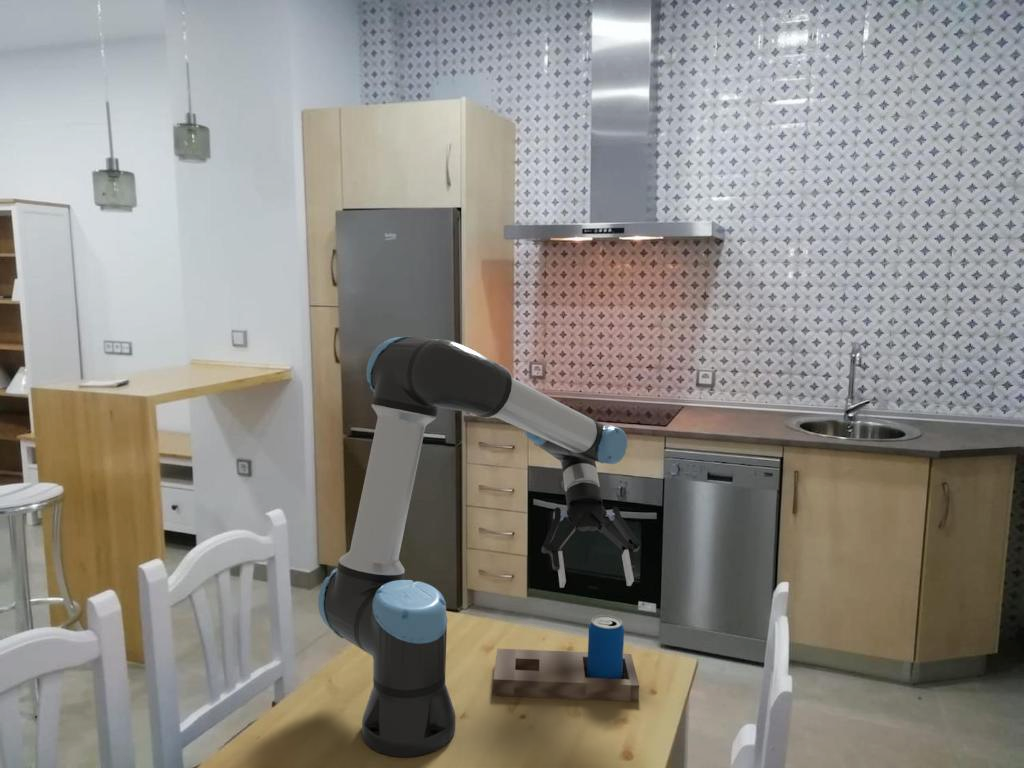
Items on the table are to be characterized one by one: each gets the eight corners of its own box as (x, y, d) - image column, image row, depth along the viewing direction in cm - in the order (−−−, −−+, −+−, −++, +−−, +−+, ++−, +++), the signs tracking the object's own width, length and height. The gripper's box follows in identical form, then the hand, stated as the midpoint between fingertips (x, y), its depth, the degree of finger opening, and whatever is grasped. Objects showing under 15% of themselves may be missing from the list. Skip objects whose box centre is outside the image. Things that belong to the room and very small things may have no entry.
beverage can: (620, 694, 135) (623, 630, 133) (585, 689, 136) (587, 626, 135) (622, 676, 141) (625, 616, 140) (588, 672, 142) (590, 612, 141)
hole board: (492, 695, 133) (493, 679, 133) (496, 663, 145) (497, 648, 145) (638, 701, 132) (639, 685, 132) (630, 668, 144) (631, 653, 144)
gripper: (634, 498, 164) (653, 590, 151) (522, 499, 160) (531, 593, 147) (643, 480, 158) (663, 574, 145) (527, 481, 155) (536, 577, 141)
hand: (597, 584), depth 146 cm, fingers open, 13 cm apart
